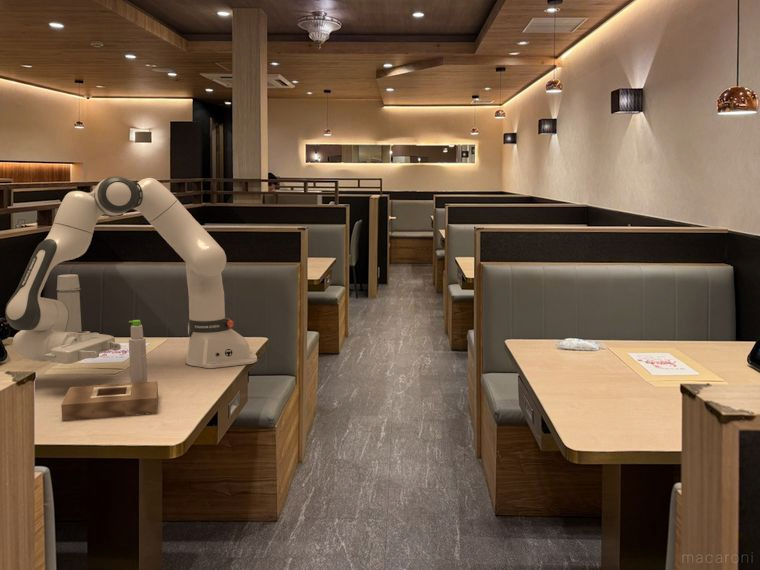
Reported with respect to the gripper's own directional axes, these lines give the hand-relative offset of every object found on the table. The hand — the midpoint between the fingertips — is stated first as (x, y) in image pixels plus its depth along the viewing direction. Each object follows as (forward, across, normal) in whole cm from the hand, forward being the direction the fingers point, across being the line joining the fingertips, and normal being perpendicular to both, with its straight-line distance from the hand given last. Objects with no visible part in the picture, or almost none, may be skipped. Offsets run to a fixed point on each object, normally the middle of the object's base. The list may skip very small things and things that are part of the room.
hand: (108, 350), depth 204 cm
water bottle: (-47, +42, +11) cm, 64 cm away
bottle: (+9, 0, +11) cm, 15 cm away
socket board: (+11, -14, +11) cm, 21 cm away
